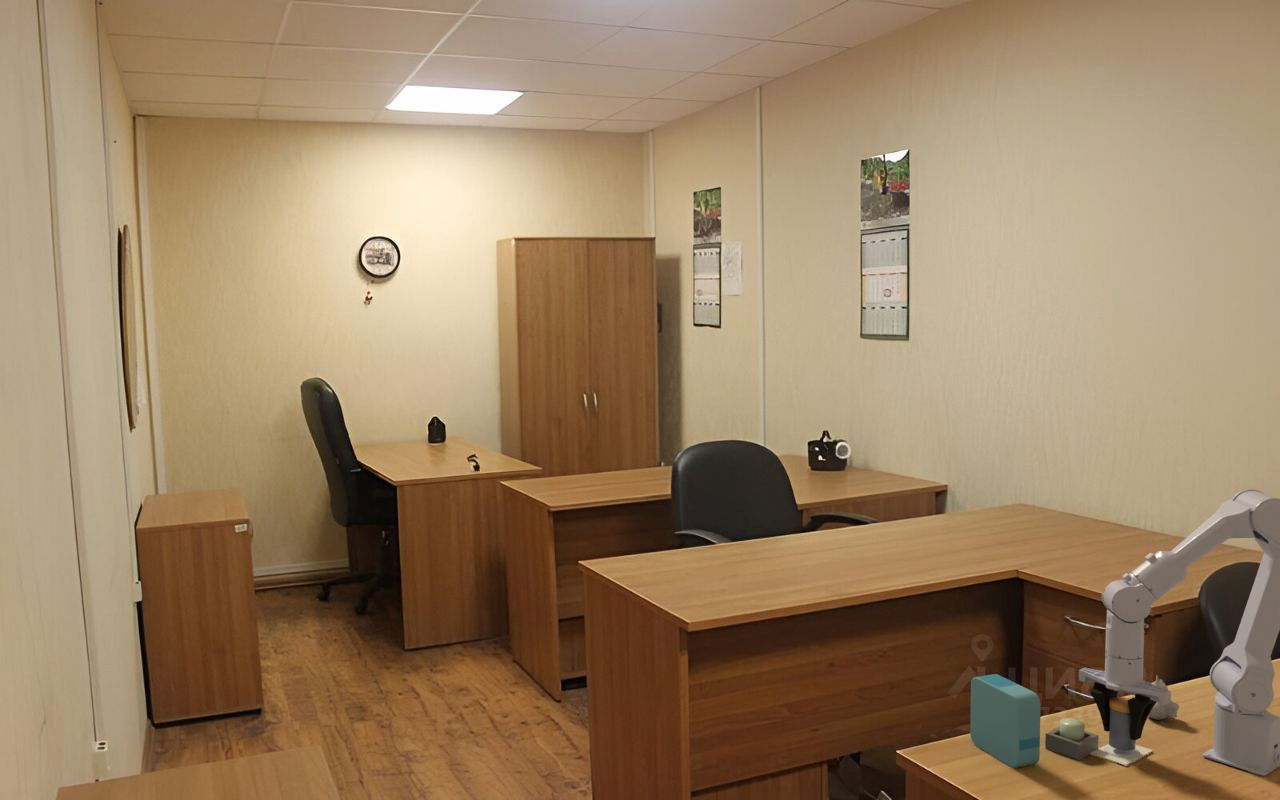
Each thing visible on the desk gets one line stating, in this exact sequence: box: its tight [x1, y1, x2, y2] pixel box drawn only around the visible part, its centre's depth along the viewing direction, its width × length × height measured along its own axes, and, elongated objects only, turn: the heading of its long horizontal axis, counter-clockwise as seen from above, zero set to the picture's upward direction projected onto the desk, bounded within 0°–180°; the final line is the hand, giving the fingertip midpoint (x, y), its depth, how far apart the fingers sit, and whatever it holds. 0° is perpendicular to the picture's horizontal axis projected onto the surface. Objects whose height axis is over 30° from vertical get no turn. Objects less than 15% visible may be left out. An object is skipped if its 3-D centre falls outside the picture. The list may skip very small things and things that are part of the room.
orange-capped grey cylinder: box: [1108, 696, 1137, 751], centre depth 170 cm, size 4×4×8 cm
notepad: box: [1089, 743, 1154, 767], centre depth 170 cm, size 6×9×1 cm, turn 127°
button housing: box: [1045, 726, 1099, 761], centre depth 172 cm, size 6×6×3 cm
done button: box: [1059, 717, 1086, 742], centre depth 172 cm, size 4×4×3 cm
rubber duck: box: [1148, 675, 1180, 721], centre depth 184 cm, size 5×7×8 cm
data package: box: [970, 673, 1041, 769], centre depth 170 cm, size 12×4×12 cm, turn 20°
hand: (1122, 734), depth 170 cm, fingers closed on orange-capped grey cylinder, 4 cm apart
